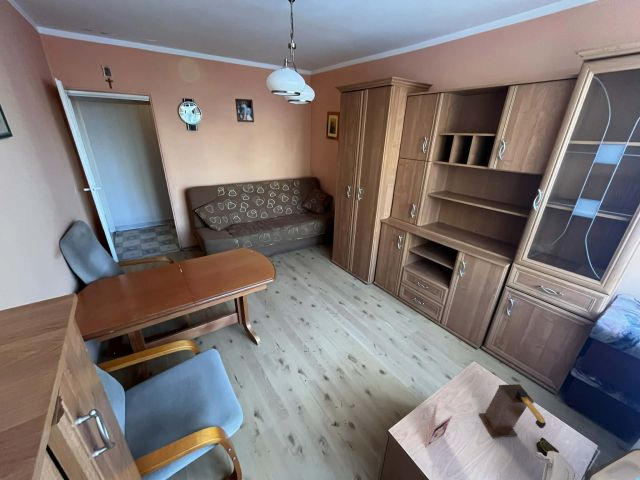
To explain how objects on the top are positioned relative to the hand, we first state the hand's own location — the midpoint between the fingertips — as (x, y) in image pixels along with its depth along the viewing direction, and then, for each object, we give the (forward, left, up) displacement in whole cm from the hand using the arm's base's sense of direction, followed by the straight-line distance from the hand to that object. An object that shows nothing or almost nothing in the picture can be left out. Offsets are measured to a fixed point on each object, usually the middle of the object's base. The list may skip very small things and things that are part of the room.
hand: (534, 467), depth 92 cm
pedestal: (+25, -11, -21) cm, 34 cm away
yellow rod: (+17, -11, +2) cm, 21 cm away
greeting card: (+22, +23, -21) cm, 38 cm away
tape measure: (+14, -26, -21) cm, 37 cm away
